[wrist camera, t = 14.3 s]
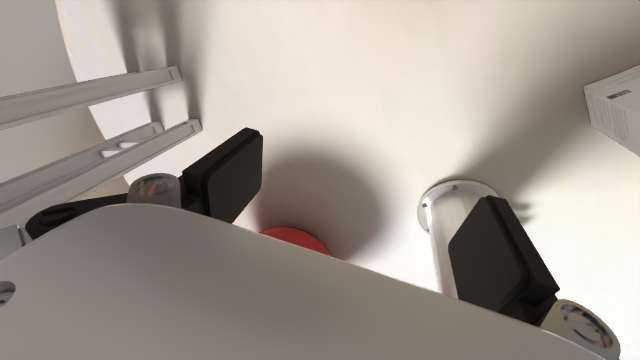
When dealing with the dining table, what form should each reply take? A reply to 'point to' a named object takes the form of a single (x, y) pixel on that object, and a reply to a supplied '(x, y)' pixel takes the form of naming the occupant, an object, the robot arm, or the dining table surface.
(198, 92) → the dining table surface
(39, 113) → the stool
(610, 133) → the skincare box
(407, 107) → the dining table surface
